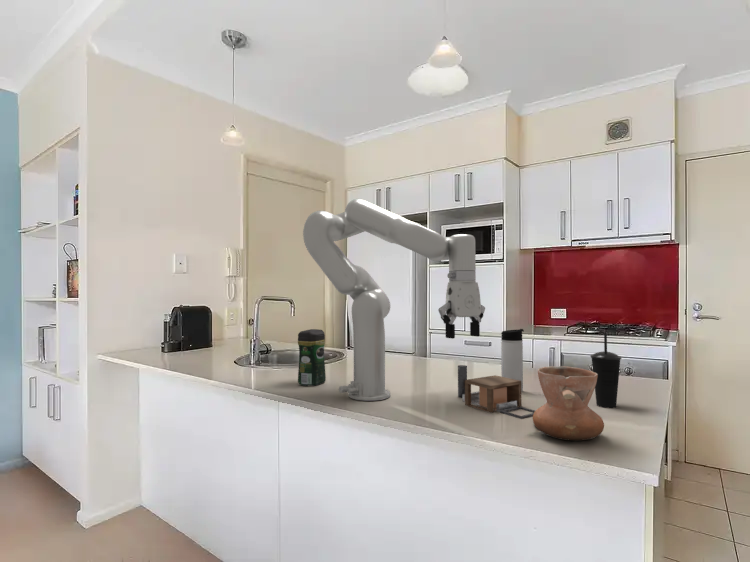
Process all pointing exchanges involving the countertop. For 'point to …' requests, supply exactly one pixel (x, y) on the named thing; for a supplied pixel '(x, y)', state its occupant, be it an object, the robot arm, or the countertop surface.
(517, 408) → the dark piece
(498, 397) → the block
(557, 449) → the countertop surface
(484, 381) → the tunnel
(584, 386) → the ceramic jug
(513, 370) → the travel mug
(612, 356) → the drinking cup
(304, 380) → the coffee jar
